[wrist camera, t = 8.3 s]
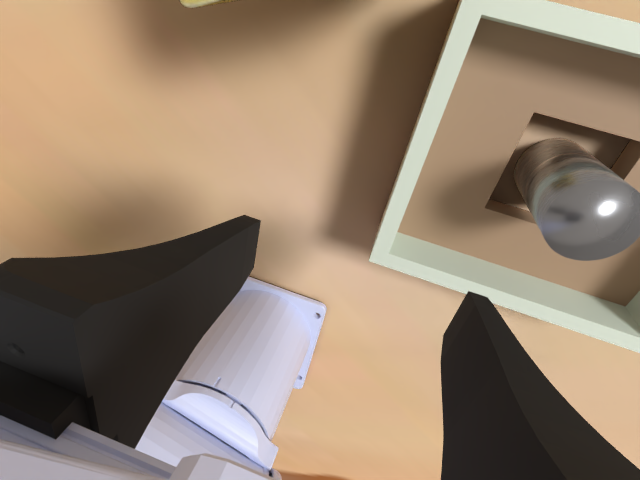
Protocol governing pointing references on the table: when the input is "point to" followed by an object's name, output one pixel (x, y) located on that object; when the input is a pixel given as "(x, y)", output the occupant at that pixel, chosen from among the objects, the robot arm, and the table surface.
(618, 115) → the box
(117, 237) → the table surface
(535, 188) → the peg
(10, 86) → the table surface
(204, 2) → the flower pot
